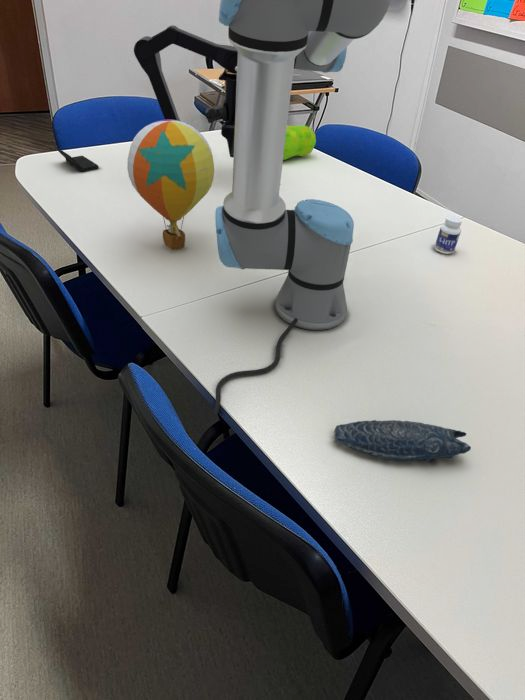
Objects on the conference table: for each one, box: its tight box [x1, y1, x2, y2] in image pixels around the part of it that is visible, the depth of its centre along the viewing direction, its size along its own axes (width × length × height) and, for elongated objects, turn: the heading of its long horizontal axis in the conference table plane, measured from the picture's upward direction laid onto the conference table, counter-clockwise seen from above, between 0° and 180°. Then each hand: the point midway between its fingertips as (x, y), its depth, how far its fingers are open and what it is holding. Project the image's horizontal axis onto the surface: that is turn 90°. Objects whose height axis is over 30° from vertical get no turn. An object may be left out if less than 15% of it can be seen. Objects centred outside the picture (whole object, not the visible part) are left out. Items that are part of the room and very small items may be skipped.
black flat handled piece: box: [53, 145, 99, 172], centre depth 166 cm, size 12×7×10 cm
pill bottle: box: [434, 215, 463, 255], centre depth 137 cm, size 5×5×9 cm
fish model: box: [333, 419, 472, 462], centre depth 82 cm, size 7×21×5 cm, turn 84°
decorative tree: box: [283, 124, 317, 161], centre depth 187 cm, size 18×10×30 cm
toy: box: [126, 119, 215, 251], centre depth 121 cm, size 20×20×30 cm
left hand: (232, 151), depth 163 cm, fingers open, 9 cm apart
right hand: (247, 174), depth 135 cm, fingers open, 13 cm apart
